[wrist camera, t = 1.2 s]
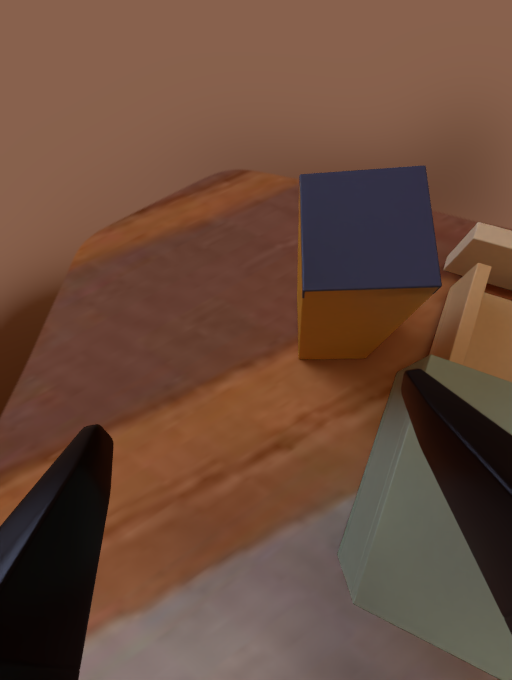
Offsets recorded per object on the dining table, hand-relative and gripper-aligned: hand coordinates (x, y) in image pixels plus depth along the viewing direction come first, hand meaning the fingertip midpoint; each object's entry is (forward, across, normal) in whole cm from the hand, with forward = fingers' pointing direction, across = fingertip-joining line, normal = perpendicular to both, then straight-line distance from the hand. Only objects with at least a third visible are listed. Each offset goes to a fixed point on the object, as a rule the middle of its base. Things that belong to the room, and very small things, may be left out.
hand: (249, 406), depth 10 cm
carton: (+13, -5, +9) cm, 16 cm away
